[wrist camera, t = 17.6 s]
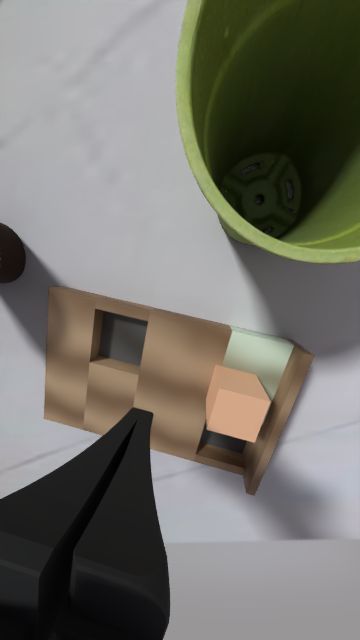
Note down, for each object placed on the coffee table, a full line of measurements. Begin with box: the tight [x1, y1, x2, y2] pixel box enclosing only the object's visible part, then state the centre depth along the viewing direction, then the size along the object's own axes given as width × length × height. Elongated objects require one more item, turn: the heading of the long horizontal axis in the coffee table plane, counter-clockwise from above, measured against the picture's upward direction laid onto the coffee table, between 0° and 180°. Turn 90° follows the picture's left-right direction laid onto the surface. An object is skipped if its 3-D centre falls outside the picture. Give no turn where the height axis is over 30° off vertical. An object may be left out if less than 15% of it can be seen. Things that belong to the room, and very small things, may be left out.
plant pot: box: [176, 0, 360, 264], centre depth 11 cm, size 12×12×11 cm
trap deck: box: [44, 286, 314, 495], centre depth 20 cm, size 16×25×4 cm, turn 78°
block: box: [206, 365, 271, 443], centre depth 17 cm, size 4×4×4 cm
